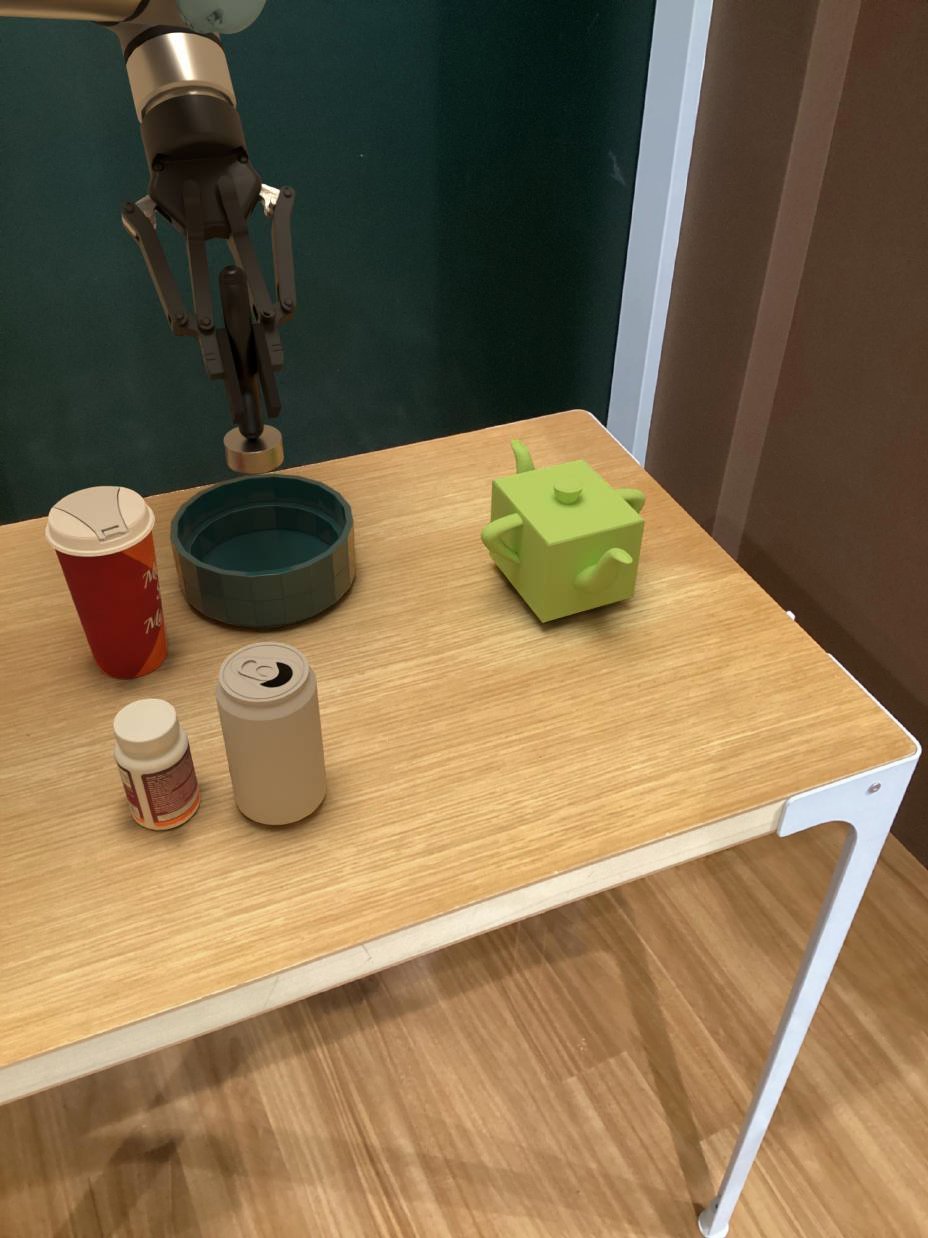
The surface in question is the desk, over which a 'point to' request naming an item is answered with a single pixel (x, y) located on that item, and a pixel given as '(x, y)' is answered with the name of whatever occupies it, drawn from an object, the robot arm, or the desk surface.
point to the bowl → (264, 549)
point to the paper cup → (112, 576)
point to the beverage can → (272, 732)
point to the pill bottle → (155, 764)
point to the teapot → (564, 536)
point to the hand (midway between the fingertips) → (257, 414)
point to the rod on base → (246, 383)
